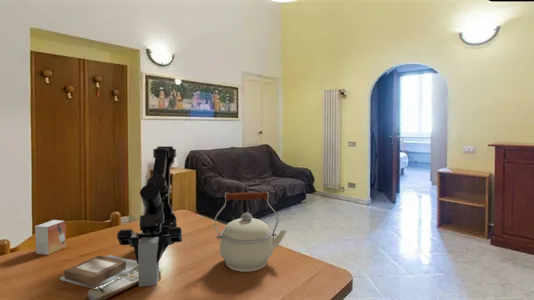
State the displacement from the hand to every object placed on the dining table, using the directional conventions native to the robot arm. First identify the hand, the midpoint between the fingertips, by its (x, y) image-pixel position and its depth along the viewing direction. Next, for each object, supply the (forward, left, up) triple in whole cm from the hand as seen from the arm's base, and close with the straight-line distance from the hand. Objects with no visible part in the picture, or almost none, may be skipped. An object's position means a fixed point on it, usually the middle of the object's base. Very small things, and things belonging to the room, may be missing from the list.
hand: (147, 262), depth 94 cm
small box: (+24, -45, -7) cm, 52 cm away
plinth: (+10, -16, -7) cm, 20 cm away
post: (-1, -1, -7) cm, 7 cm away
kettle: (-34, +4, -7) cm, 34 cm away
